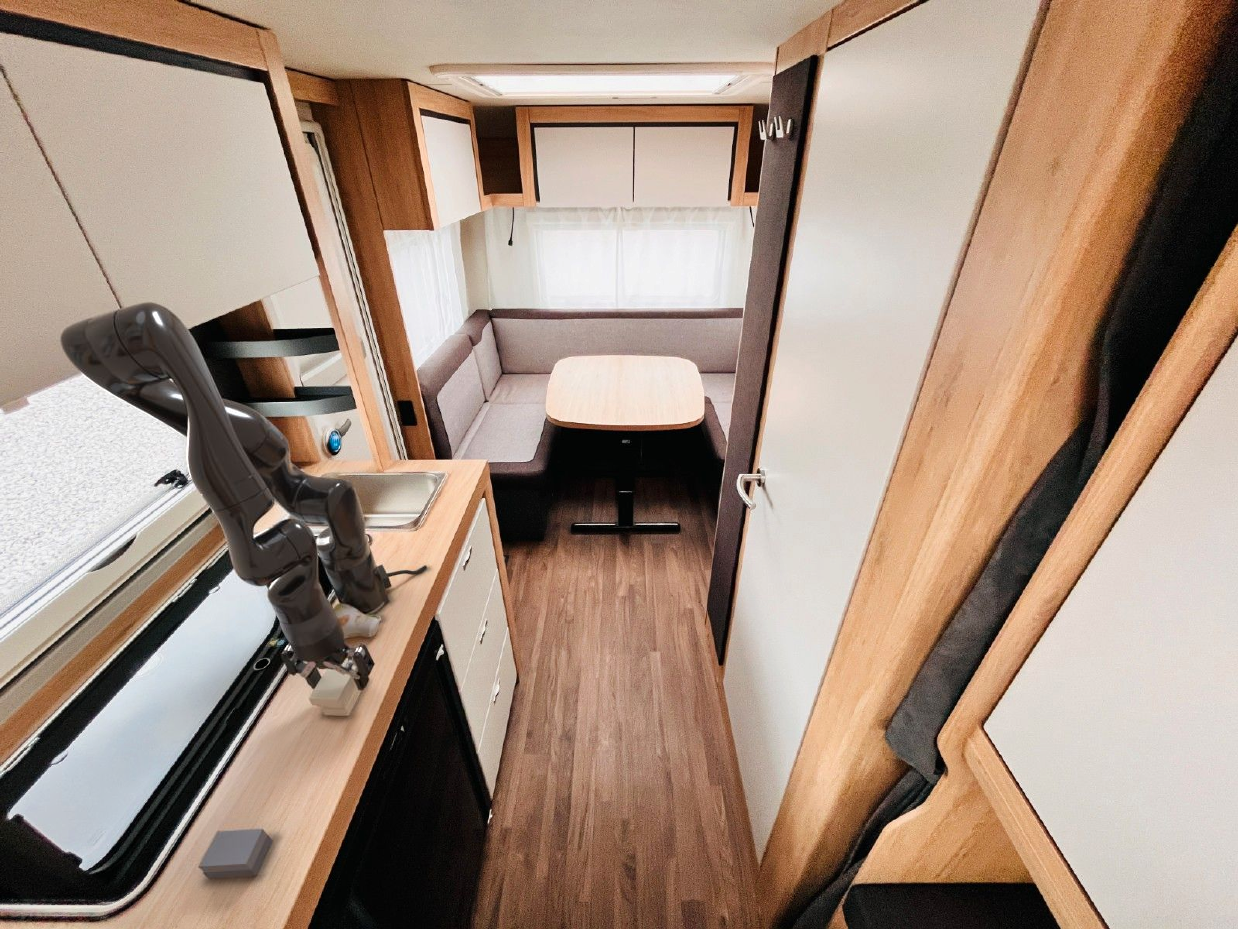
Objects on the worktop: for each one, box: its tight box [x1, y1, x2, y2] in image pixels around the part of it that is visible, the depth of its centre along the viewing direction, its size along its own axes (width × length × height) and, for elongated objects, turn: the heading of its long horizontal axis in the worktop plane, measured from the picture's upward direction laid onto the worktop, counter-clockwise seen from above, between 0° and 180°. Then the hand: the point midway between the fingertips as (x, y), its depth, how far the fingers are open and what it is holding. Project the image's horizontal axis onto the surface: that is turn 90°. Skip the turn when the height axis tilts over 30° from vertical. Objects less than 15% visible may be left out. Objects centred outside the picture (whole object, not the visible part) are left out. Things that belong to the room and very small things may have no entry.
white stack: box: [321, 681, 363, 717], centre depth 94 cm, size 7×4×4 cm
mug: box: [333, 603, 382, 640], centre depth 106 cm, size 8×10×10 cm
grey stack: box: [197, 828, 273, 880], centre depth 73 cm, size 7×4×4 cm
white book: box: [308, 661, 357, 707], centre depth 92 cm, size 8×5×2 cm
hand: (340, 685), depth 93 cm, fingers open, 8 cm apart
